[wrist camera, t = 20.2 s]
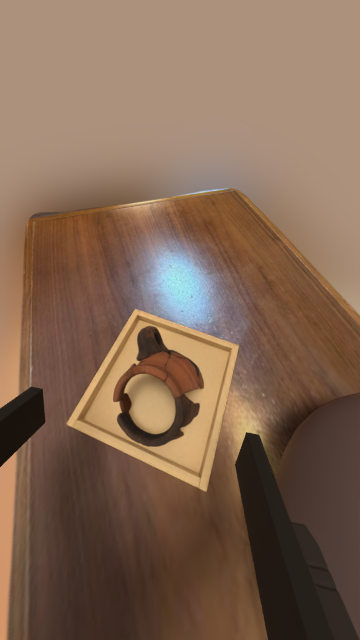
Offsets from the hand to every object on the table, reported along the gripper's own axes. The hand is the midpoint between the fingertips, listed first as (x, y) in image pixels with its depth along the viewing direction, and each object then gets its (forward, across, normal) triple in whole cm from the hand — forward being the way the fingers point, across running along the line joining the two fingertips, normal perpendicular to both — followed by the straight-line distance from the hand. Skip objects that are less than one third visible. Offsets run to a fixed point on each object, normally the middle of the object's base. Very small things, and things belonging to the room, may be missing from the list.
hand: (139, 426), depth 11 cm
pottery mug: (+11, 0, -4) cm, 11 cm away
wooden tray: (+11, 0, -5) cm, 12 cm away
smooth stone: (+4, +23, -12) cm, 26 cm away
